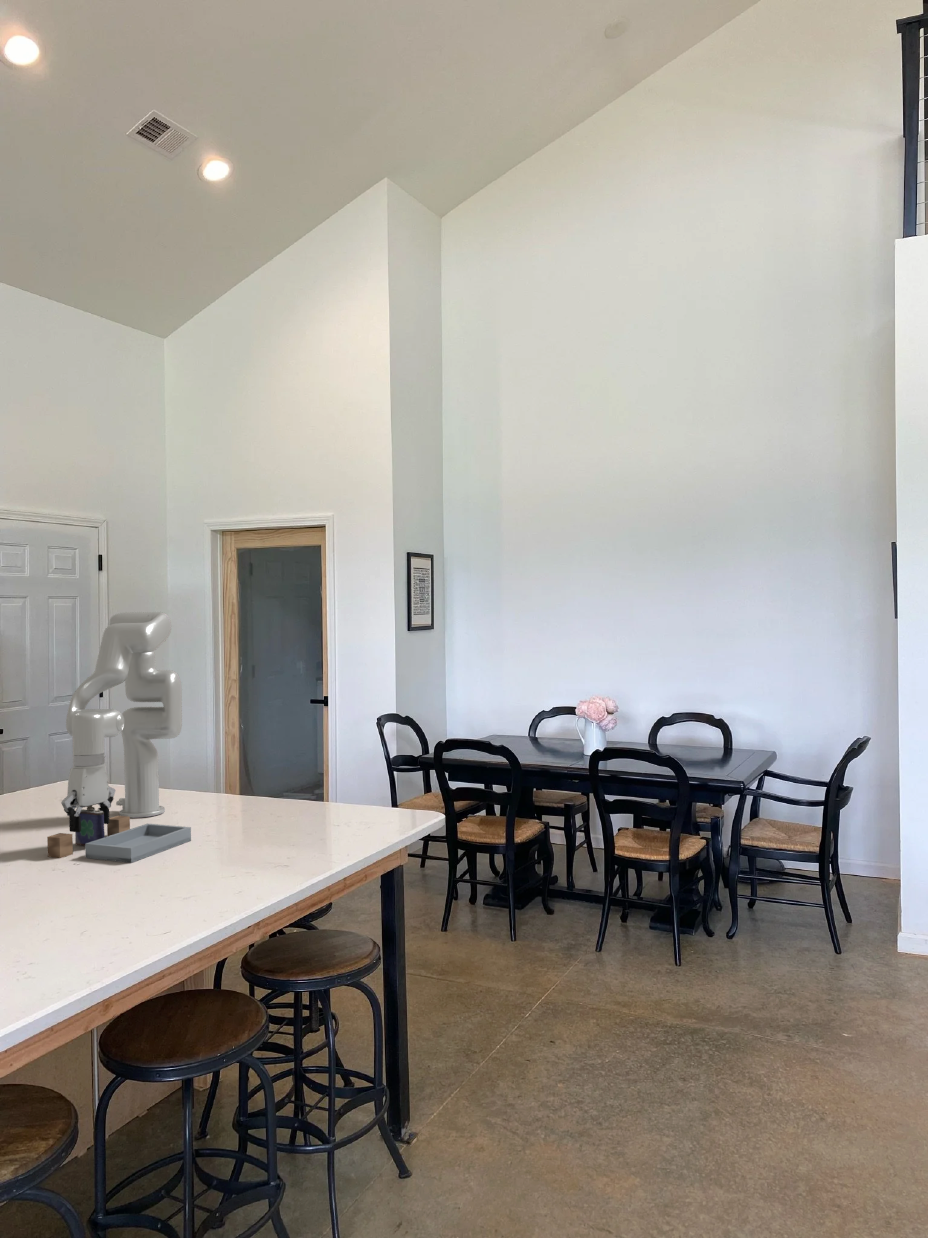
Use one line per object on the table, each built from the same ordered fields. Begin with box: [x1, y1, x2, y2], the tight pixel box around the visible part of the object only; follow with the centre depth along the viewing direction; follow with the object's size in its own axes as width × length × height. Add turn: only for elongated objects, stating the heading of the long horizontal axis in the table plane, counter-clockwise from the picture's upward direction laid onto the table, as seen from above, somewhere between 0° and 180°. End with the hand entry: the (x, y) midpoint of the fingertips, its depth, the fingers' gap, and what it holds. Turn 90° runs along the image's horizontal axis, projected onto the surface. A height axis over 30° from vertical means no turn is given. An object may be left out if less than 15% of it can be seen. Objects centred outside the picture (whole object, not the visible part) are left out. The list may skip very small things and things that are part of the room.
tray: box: [84, 823, 192, 864], centre depth 230 cm, size 14×22×4 cm, turn 158°
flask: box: [74, 805, 106, 847], centre depth 235 cm, size 9×3×11 cm, turn 65°
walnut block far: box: [106, 815, 131, 837], centre depth 244 cm, size 4×4×5 cm
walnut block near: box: [46, 832, 74, 859], centre depth 225 cm, size 4×4×5 cm
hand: (89, 827), depth 234 cm, fingers open, 9 cm apart
